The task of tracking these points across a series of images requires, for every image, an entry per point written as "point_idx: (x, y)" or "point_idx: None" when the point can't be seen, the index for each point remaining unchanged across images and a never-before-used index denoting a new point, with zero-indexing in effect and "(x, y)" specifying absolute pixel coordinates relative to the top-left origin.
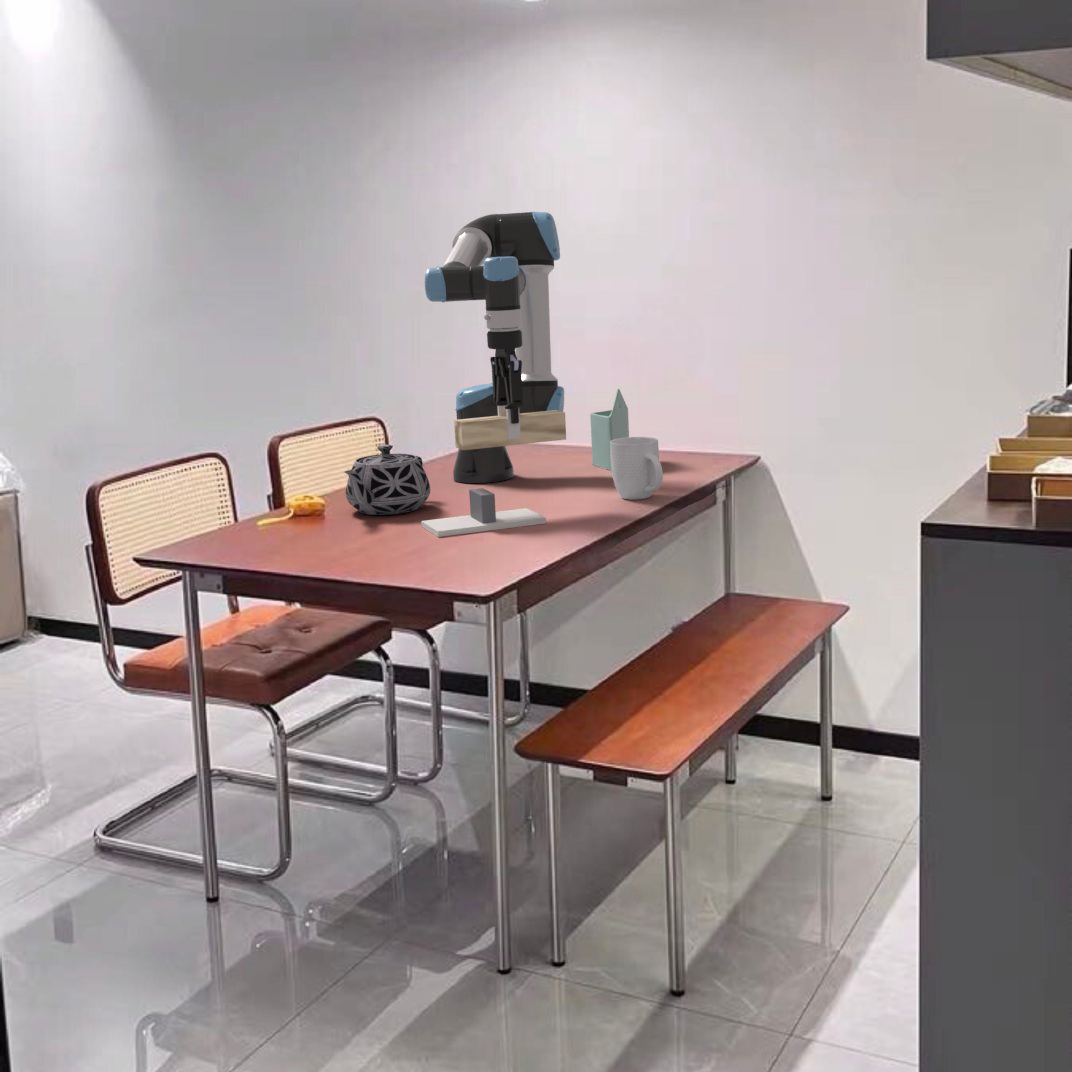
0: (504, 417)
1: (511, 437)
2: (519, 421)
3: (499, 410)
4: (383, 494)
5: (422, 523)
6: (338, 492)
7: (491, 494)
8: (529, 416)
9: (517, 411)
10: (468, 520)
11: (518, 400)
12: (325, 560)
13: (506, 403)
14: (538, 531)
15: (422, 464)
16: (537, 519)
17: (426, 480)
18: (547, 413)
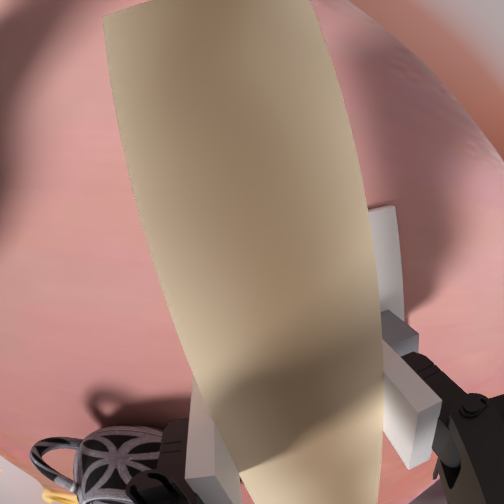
0: (347, 445)
1: None
2: (392, 351)
3: (239, 496)
4: None
5: None
6: (27, 473)
7: (418, 339)
8: (377, 291)
9: (458, 393)
10: None
11: (501, 432)
12: (424, 467)
13: (191, 501)
14: (439, 231)
15: (37, 446)
16: (396, 224)
17: (153, 455)
18: (299, 108)
